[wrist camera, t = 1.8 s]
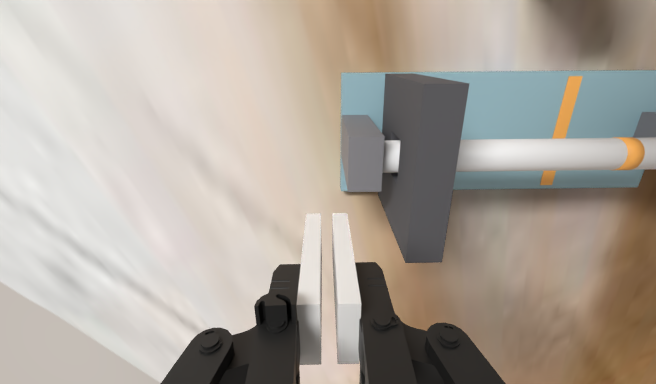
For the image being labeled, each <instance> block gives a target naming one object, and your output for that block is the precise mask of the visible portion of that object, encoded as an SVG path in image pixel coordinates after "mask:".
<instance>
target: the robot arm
mask: <svg viewBox="0 0 656 384" xmlns="http://www.w3.org/2000/svg"><path fill="white" fill-rule="evenodd" d="M332 245H333V278H334V298H335V318H336V339H337V359H338V364H359V360H360V384H505V383H504V381H503V380H502V379H501V377H500V376H499V375H498V374H497V372H496V371H495V370H494V369H493V367H492V366H491V365H490V363H489V362H488V361H487V360H486V358H485V357H484V356H483V355H482V353H481V352H480V351H479V349H478V348H477V347H476V346H475V344H474V343H473V342H472V341H471V339H470V338H469V337H468V335H467V334H466V333H465V332H463V331H462V330H461V329H460V328H458V327H456V326H454V325H452V324H448V323H436V324H434V325H431V326H430V327H429V329H428V330H427V331H424V330H420V329H416V328H413V327H410V326H408V325H406V324H404V323H403V322H401V320H400V318H399V317H398V316H397V315H396V314H395V313H394V310H393V306H392V303H391V299H390V296H389V292H388V288H387V286H386V281H385V278H384V274H383V271H382V269H381V268H380V267H379V266H378V265H377V263H376V262H361V263H355V260H354V253H353V247H352V241H351V234H350V228H349V222H348V215H347V213H332ZM321 304H322V247H321V213H317V214H306V220H305V229H304V238H303V248H302V257H301V264H284V265H279V266H278V267H277V269H276V270H275V271H274V272H273V276H272V282H271V285H270V289H269V293H268V294H266V295H264V296H262V297H261V298H260V299H259V300H257V302H256V304H255V306H254V307H255V315H256V324H257V325H256V326H255V327H253V328H252V329H250V330H248V331H245V332H242V333H239V334H235V335H231V334H230V332H229V331H228V330H226V329H223V328H211V329H208V330H205V331H203V332H201V333H200V334H198V335H197V336H196V337H195V338H194V339H193V340H192V341H191V342H190V344H189V345H188V346H187V348H186V349H185V351H184V352H183V353H182V355H181V356H180V358H179V359H178V360H177V362H176V363H175V364H174V366H173V367H172V369H171V370H170V371H169V373H168V374H167V376H166V377H165V378H164V380H163V381H162V383H161V384H300V373H299V365H311V364H321Z"/></svg>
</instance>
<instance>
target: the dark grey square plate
mask: <svg viewBox="0 0 656 384" xmlns="http://www.w3.org/2000/svg"><path fill="white" fill-rule="evenodd" d="M469 84H470V83H464V82H458V81H453V80H447V79H442V78H436V77H431V76H425V75H420V74H414V73H408V74H385V89H384V106H383V123H382V134H383V135H384V136H385V138H384V141H386V140H400V141H401V143H400V155H399V167H398V172H397V173H382V187H381V192H378V196H379V198H380V201H381V203H382V206H383V208H384V211H385V213H386V216H387V218H388V221H389V223H390V226H391V228H392V231H393V233H394V236H395V238H396V240H397V243H398V245H399V248H400V250H401V253H402V255H403V258H404V260H405V263H429V262H442V258H443V251H444V245H445V238H446V232H447V226H448V219H449V213H450V206H451V200H452V193H453V187H454V180H455V174H456V167H457V161H458V155H459V148H460V142H461V135H462V129H463V122H464V116H465V109H466V103H467V97H468V90H469Z"/></svg>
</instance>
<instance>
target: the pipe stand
mask: <svg viewBox="0 0 656 384" xmlns="http://www.w3.org/2000/svg"><path fill="white" fill-rule="evenodd" d="M408 73H414V74H420V75H425V76H431V77H436V78H442V79H447V80H453V81H458V82H464V83H470V84H469V90H468V97H467V103H466V109H465V116H464V122H463V129H462V135H461V142H460V148H459V155H458V161H457V167H456V174H455V180H454V187H453V190H465V189H541V188H618V187H638V185H639V183H640V180H641V178H642V175H643V172H644V170H645V169H656V70H599V71H487V72H375V73H341V170H340V188H341V191H348V192H381V187H382V173H397V172H398V167H399V155H400V143H401V141H400V140H386V141H384V138H385V136H384V135H383V134H382V123H383V106H384V89H385V74H408Z"/></svg>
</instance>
